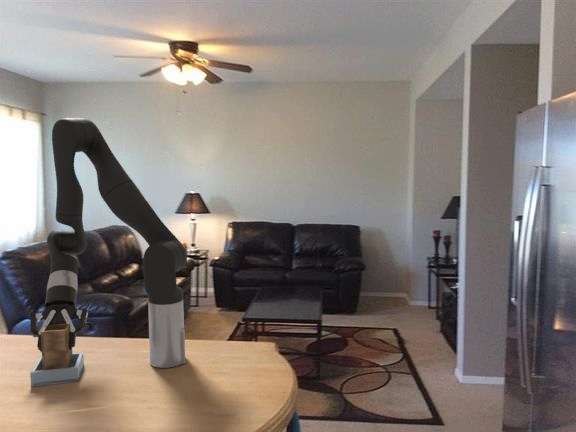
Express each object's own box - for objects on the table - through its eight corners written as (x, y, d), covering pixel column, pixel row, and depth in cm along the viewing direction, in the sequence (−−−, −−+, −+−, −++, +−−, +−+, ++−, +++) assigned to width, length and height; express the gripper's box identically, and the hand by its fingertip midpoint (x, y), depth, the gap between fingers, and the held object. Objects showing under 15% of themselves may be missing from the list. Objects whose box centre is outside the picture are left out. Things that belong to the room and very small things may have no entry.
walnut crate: (72, 359, 129) (70, 322, 128) (69, 368, 123) (67, 329, 122) (47, 361, 127) (45, 324, 126) (42, 371, 122) (40, 332, 121)
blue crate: (83, 364, 132) (83, 352, 132) (78, 381, 122) (77, 367, 121) (40, 369, 129) (39, 356, 129) (31, 386, 119) (30, 372, 119)
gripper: (29, 285, 128) (20, 346, 118) (88, 282, 132) (85, 340, 122) (35, 300, 134) (27, 358, 124) (92, 296, 138) (88, 353, 128)
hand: (56, 349), depth 123 cm, fingers closed on walnut crate, 6 cm apart
